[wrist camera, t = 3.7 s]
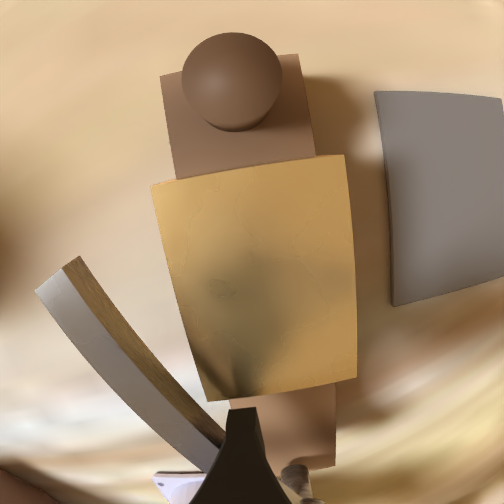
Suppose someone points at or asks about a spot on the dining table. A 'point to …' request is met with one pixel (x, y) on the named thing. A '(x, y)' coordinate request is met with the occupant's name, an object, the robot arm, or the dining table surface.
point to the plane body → (242, 154)
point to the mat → (442, 190)
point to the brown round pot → (21, 491)
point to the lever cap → (264, 274)
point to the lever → (142, 373)
